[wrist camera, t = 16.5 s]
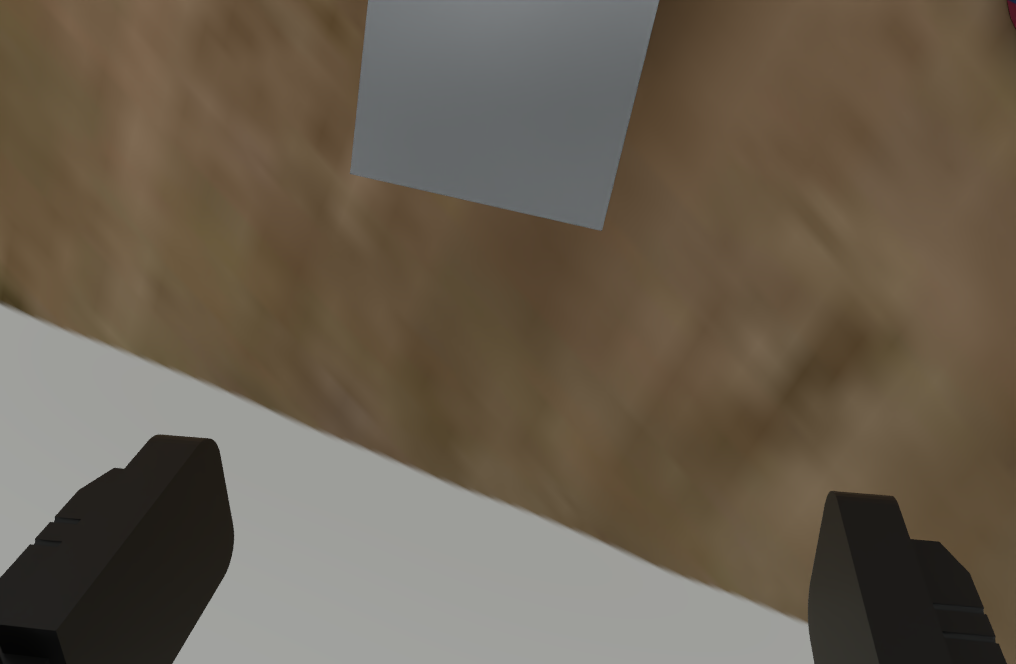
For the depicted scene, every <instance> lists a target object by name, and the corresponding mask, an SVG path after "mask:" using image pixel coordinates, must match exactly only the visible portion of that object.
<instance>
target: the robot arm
mask: <svg viewBox="0 0 1016 664" xmlns="http://www.w3.org/2000/svg"><path fill="white" fill-rule="evenodd" d="M233 544H234V529H233V522H232V517H231V511H230V506H229V501H228V494H227V489H226V483H225V478H224V472H223V467H222V461H221V456H220V451H219V448H218V446H217V444H216V442H215V441H214V440H212V439H208V438H196V437H184V436H172V435H155V436H153V437H152V438H151V439H150V440H149V441H148V442H147V443H146V444H145V445H144V447H143V448H142V449H141V450H140V451H139V452H138V453H137V455H136V456H135V457H134V458H133V459H132V461H131V462H130V463H129V464H128V465H127V466H126V468H125V469H120V468H113V469H112V470H110V471H108V472H107V473H105V474H104V475H102V476H100V477H99V478H97V479H96V480H94V481H93V482H91V483H89V484H88V485H86V486H85V487H83V488H81V489H80V490H79V491H78V492H77V493H76V494H75V495H74V496H73V497H72V498H71V499H70V500H69V502H68V503H67V504H66V505H65V506H64V507H63V508H62V509H61V510H60V512H59V513H58V514H57V515H56V516H55V521H54V522H50V523H49V524H48V525H47V526H46V527H45V528H44V530H43V531H42V532H41V533H40V534H39V535H38V536H37V537H36V538H35V544H34V545H31V544H30V545H29V546H28V547H27V549H26V550H25V551H24V552H23V553H22V554H21V555H20V556H19V557H18V559H17V560H16V561H15V562H14V563H13V564H12V565H11V566H10V567H9V569H8V570H7V571H6V572H5V573H4V574H3V575H2V576H1V577H0V664H172V663H173V661H174V660H175V658H176V656H177V655H178V653H179V651H180V650H181V648H182V646H183V645H184V643H185V641H186V640H187V638H188V636H189V635H190V633H191V631H192V630H193V628H194V626H195V625H196V623H197V621H198V619H199V618H200V616H201V614H202V613H203V611H204V609H205V608H206V606H207V604H208V602H209V601H210V599H211V598H212V596H213V594H214V593H215V591H216V589H217V588H218V586H219V584H220V583H221V581H222V579H223V577H224V576H225V574H226V572H227V569H228V567H229V563H230V560H231V557H232V551H233ZM983 609H984V607H983V605H982V602H981V600H980V597H979V595H978V592H977V590H976V588H975V585H974V583H973V580H972V578H971V575H970V573H969V572H968V571H967V570H966V569H965V568H964V567H963V566H962V565H961V564H960V563H959V562H958V561H957V560H956V559H955V558H954V557H953V556H952V555H951V553H950V552H949V551H948V550H947V549H946V548H945V547H944V546H943V545H942V544H941V543H940V542H936V541H925V540H914V539H910V537H909V534H908V531H907V528H906V525H905V523H904V520H903V517H902V514H901V511H900V508H899V505H898V503H897V501H896V499H895V498H894V497H893V496H886V495H874V494H862V493H849V492H837V491H831V492H829V494H828V496H827V499H826V502H825V507H824V512H823V517H822V523H821V528H820V533H819V539H818V544H817V549H816V555H815V560H814V565H813V571H812V576H811V581H810V588H809V599H808V624H809V634H810V641H811V646H812V652H813V658H814V663H815V664H1007V663H1006V661H1005V658H1004V656H1003V653H1002V651H1001V648H1000V646H999V644H996V642H995V634H994V631H993V629H992V627H991V624H990V622H989V619H988V617H987V615H986V614H984V612H983Z"/></svg>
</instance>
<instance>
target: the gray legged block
mask: <svg viewBox="0 0 1016 664" xmlns="http://www.w3.org/2000/svg"><path fill="white" fill-rule="evenodd" d="M658 3H659V0H368V8H367V17H366V27H365V37H364V46H363V56H362V65H361V75H360V84H359V94H358V104H357V113H356V123H355V132H354V142H353V152H352V161H351V171H350V174H353V175H357V176H362V177H366V178H371V179H375V180H379V181H384V182H388V183H393V184H397V185H402V186H406V187H410V188H415V189H419V190H424V191H428V192H432V193H437V194H441V195H446V196H450V197H455V198H459V199H463V200H468V201H472V202H477V203H481V204H485V205H490V206H494V207H499V208H503V209H508V210H512V211H516V212H521V213H525V214H530V215H534V216H538V217H543V218H547V219H552V220H556V221H561V222H565V223H569V224H574V225H578V226H583V227H587V228H591V229H596V230H600V231H602V228H603V224H604V220H605V216H606V212H607V208H608V204H609V200H610V196H611V192H612V188H613V184H614V180H615V176H616V172H617V168H618V164H619V160H620V156H621V152H622V148H623V144H624V140H625V136H626V132H627V128H628V124H629V120H630V116H631V112H632V108H633V104H634V100H635V96H636V92H637V88H638V84H639V80H640V76H641V72H642V68H643V64H644V59H645V55H646V51H647V47H648V43H649V39H650V35H651V31H652V27H653V23H654V19H655V15H656V11H657V7H658Z"/></svg>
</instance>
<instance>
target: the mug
mask: <svg viewBox="0 0 1016 664" xmlns="http://www.w3.org/2000/svg"><path fill="white" fill-rule="evenodd" d="M1007 3H1008V8H1009V12H1010V17H1011V19H1012V22H1013V24H1014V26H1015V29H1016V0H1007Z"/></svg>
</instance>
